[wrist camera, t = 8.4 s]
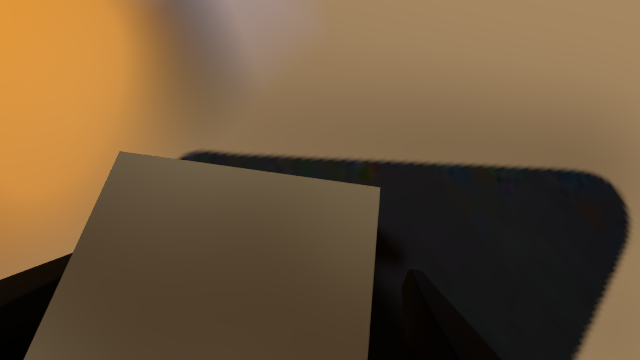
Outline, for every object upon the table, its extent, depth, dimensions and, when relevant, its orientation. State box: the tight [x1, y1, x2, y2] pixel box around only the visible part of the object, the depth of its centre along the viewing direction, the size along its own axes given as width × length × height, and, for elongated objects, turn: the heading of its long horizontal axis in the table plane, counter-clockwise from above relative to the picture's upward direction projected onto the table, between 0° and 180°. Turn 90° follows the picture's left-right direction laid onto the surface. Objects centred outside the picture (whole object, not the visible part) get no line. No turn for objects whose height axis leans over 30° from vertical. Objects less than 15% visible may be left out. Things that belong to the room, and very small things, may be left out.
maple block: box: [24, 151, 380, 360], centre depth 10 cm, size 5×5×13 cm
